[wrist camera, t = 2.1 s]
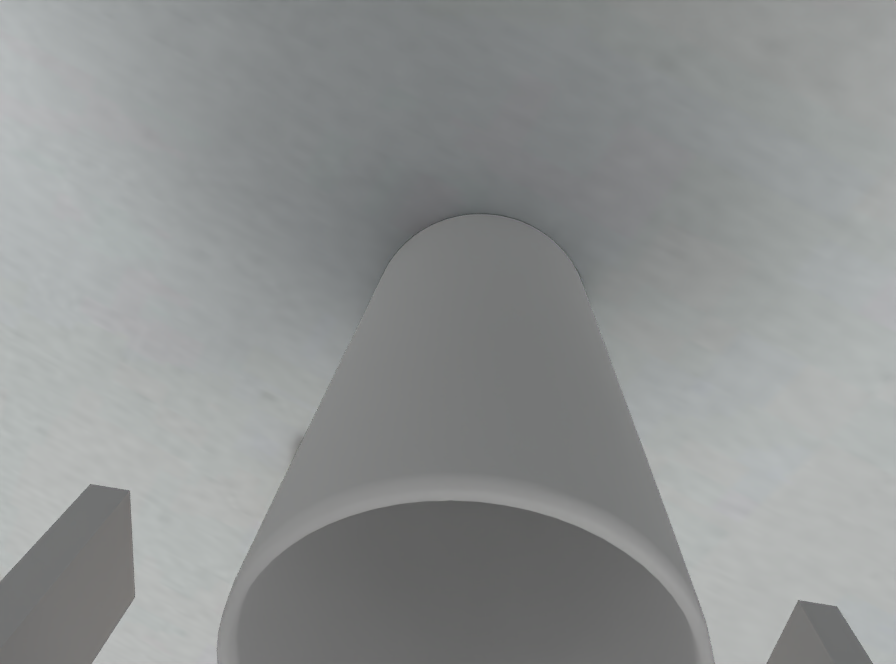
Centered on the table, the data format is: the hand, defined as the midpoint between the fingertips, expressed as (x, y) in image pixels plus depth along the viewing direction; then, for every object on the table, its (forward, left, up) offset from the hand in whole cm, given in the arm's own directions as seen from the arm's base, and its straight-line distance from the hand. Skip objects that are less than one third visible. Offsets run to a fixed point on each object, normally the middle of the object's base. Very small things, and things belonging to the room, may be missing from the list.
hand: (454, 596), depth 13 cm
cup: (0, 0, -14) cm, 14 cm away
